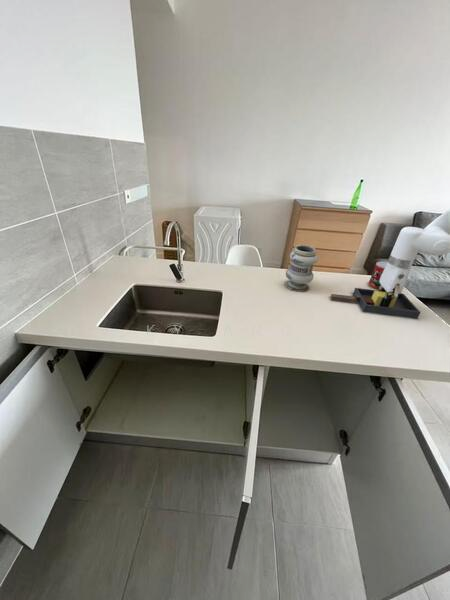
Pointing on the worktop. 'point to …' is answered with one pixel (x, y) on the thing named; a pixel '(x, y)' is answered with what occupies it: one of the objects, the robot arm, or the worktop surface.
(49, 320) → the worktop surface
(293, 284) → the apothecary jar
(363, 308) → the pan
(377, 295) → the sponge
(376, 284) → the canned food
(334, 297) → the pan handle
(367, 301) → the plate
